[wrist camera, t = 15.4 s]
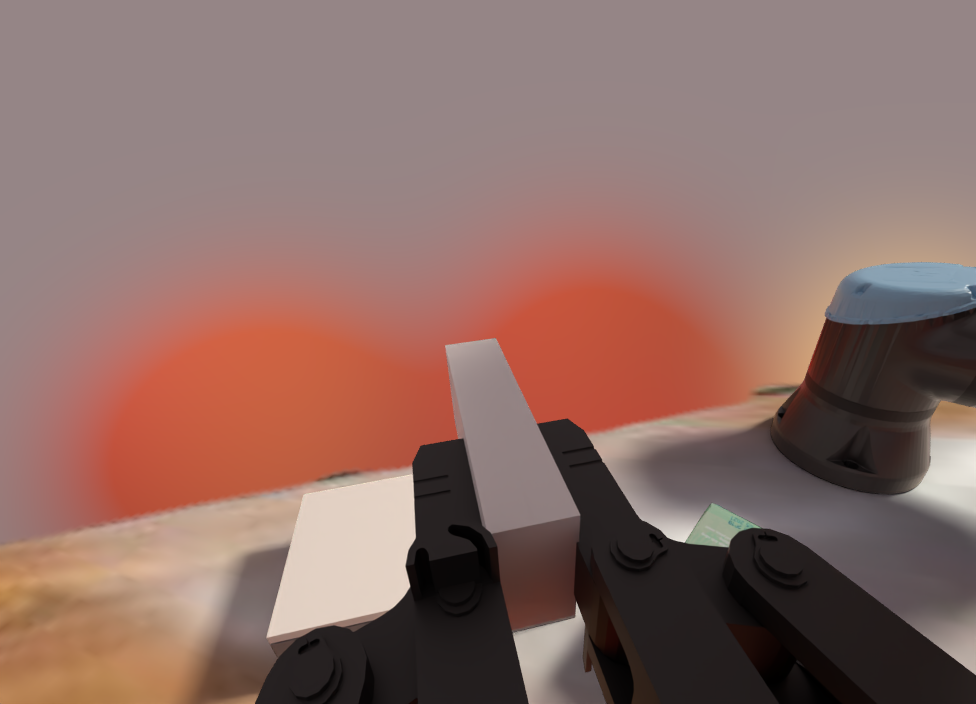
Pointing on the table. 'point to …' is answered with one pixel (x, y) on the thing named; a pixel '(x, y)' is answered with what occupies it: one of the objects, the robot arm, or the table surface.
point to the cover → (346, 557)
